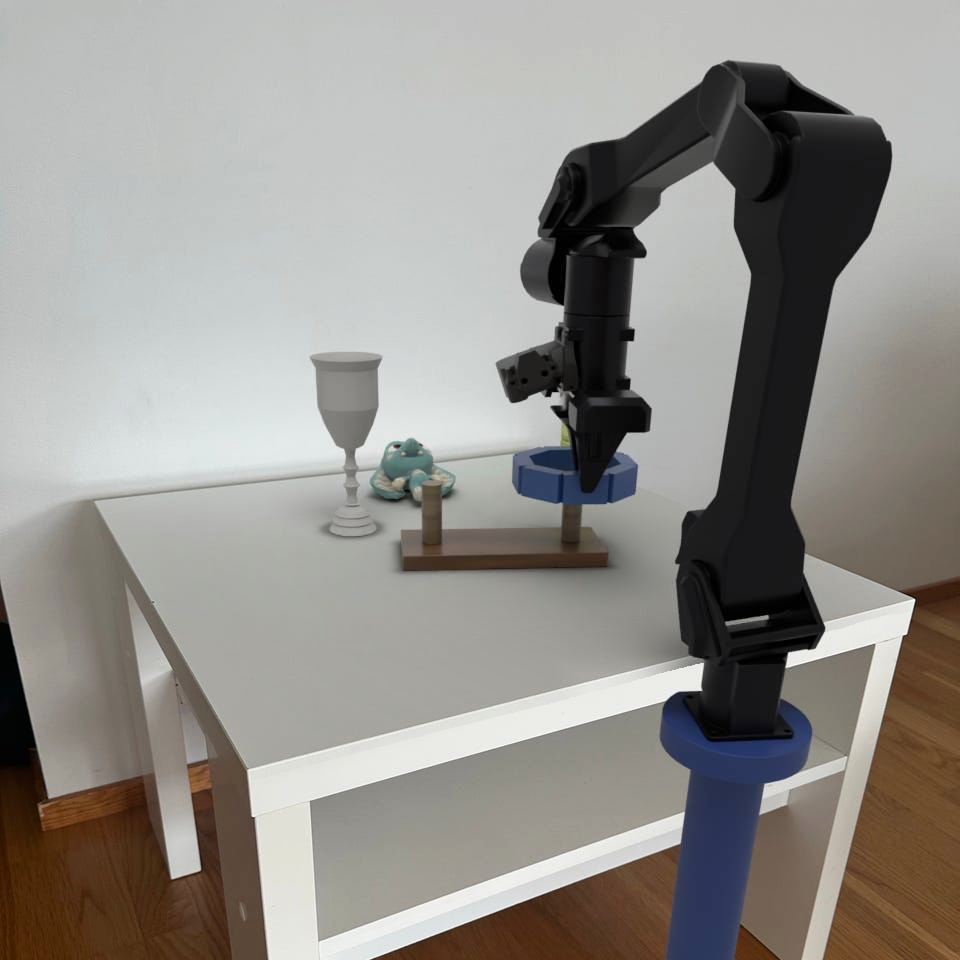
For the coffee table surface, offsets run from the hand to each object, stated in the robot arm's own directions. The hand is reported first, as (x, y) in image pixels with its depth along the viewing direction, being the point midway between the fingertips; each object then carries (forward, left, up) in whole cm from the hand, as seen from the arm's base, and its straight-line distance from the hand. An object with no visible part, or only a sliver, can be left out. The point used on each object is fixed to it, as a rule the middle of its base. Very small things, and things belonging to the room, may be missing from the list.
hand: (585, 489), depth 87 cm
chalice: (+14, +22, -8) cm, 27 cm away
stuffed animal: (+27, +15, -8) cm, 32 cm away
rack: (+5, +7, -8) cm, 12 cm away
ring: (+5, 0, -1) cm, 5 cm away
